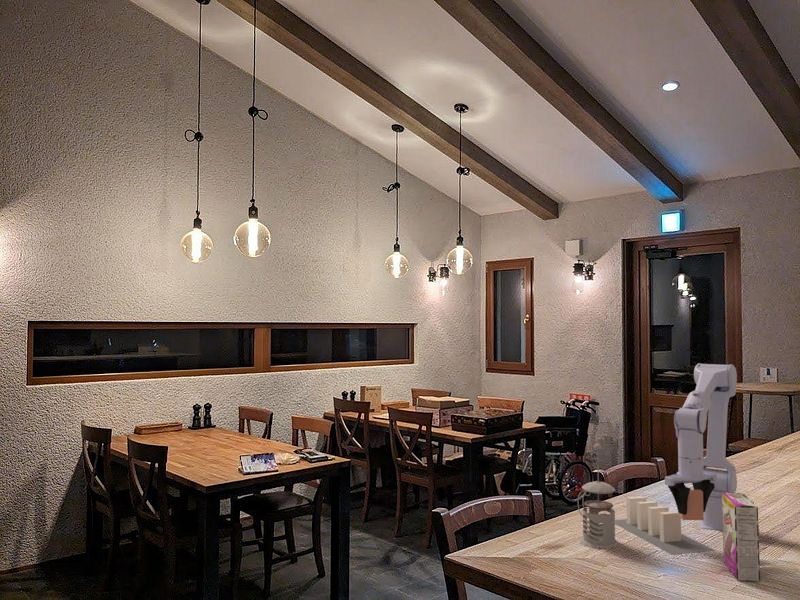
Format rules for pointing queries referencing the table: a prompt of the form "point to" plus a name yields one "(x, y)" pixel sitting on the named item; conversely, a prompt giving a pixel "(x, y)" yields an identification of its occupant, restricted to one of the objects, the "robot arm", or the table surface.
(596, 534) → the french press
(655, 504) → the domino
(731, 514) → the candy bar box
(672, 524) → the domino
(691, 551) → the slate mat
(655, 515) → the domino
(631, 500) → the domino
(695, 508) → the domino
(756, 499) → the table surface
